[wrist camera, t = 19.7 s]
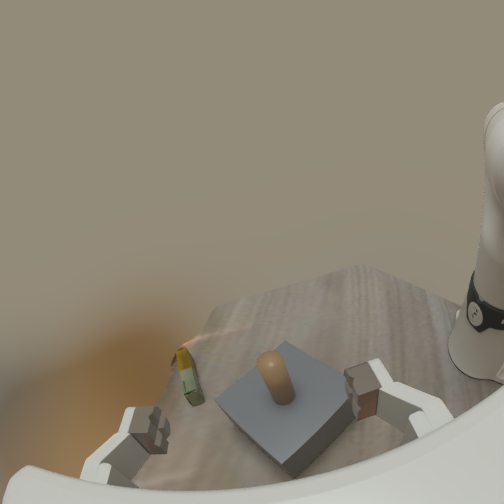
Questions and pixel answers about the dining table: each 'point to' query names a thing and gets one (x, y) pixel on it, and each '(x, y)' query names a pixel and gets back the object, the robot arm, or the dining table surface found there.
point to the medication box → (189, 377)
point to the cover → (289, 406)
